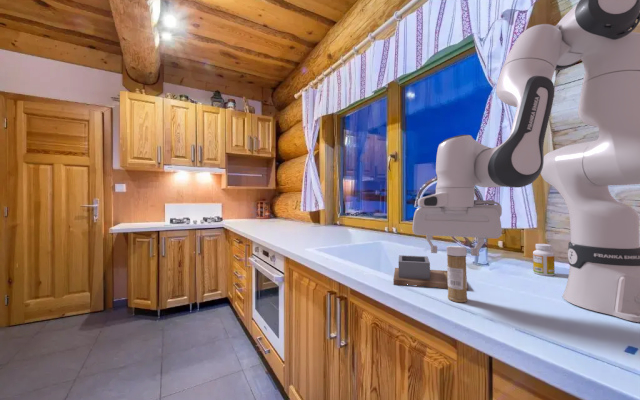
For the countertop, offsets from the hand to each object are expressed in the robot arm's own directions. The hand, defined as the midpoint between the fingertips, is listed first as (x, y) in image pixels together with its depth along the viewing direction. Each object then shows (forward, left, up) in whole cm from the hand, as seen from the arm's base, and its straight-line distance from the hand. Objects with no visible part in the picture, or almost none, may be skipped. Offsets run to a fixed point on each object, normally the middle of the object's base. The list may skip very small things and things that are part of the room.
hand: (453, 254), depth 68 cm
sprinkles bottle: (-1, 0, -12) cm, 12 cm away
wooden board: (+5, -15, -12) cm, 20 cm away
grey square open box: (+9, -15, -10) cm, 20 cm away
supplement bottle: (-32, -31, -12) cm, 46 cm away
